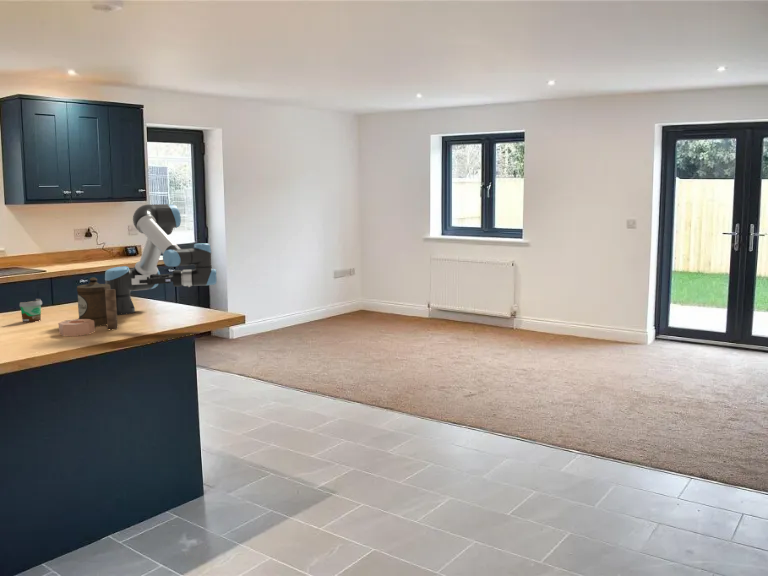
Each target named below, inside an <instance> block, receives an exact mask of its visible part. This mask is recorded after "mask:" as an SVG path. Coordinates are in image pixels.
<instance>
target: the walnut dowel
mask: <svg viewBox="0 0 768 576" xmlns="http://www.w3.org/2000/svg"><path fill="white" fill-rule="evenodd" d="M105 298H106V315H107V325H106V329H110V330H109V331H113V330H112V329H115V330H118V329H119V327H118V326H119V325H118V315H117V307H116V290H115V289H107V290H105Z"/></svg>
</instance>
